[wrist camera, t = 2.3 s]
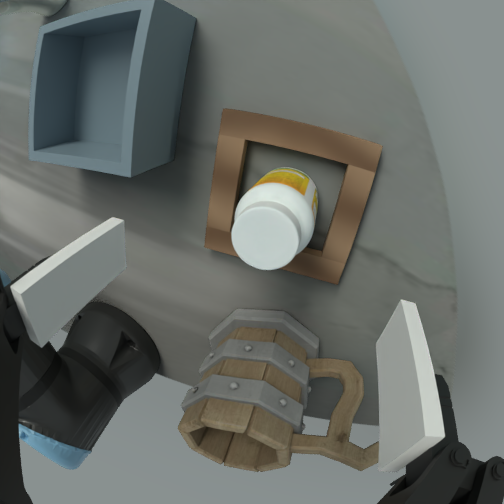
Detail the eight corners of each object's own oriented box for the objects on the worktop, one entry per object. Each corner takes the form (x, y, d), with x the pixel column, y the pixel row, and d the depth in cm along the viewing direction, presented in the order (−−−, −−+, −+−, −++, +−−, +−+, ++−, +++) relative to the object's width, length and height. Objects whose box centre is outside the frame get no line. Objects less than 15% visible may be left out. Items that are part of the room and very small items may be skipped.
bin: (174, 160, 26) (130, 177, 20) (74, 146, 28) (28, 159, 22) (196, 18, 19) (155, -4, 13) (86, 31, 21) (40, 26, 15)
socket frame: (337, 277, 28) (337, 284, 26) (208, 242, 29) (204, 247, 28) (380, 144, 21) (382, 146, 20) (227, 108, 23) (223, 108, 22)
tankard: (225, 377, 38) (185, 467, 26) (206, 304, 33) (142, 408, 20) (372, 386, 33) (370, 490, 20) (388, 310, 28) (406, 439, 15)
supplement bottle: (329, 207, 25) (329, 258, 16) (278, 234, 27) (254, 293, 19) (296, 153, 23) (277, 177, 15) (245, 186, 26) (203, 225, 17)
